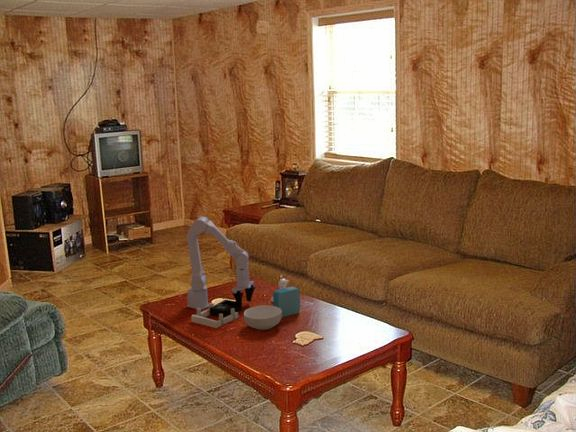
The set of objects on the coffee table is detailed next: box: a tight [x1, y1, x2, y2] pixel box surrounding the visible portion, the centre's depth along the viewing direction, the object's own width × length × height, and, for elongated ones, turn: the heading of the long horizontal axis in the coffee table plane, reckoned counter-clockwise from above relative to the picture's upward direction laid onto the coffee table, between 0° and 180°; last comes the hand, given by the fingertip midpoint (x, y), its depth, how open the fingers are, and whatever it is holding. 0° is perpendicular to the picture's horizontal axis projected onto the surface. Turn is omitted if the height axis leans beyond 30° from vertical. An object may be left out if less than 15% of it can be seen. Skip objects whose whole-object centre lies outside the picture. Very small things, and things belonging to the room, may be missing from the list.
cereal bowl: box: [243, 305, 283, 331], centre depth 281 cm, size 17×17×7 cm
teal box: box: [272, 286, 301, 319], centre depth 295 cm, size 12×4×12 cm, turn 125°
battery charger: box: [209, 299, 243, 318], centre depth 300 cm, size 13×10×4 cm
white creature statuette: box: [270, 278, 290, 304], centre depth 312 cm, size 10×9×12 cm
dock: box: [191, 302, 239, 329], centre depth 291 cm, size 16×15×5 cm
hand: (244, 303), depth 308 cm, fingers open, 7 cm apart
